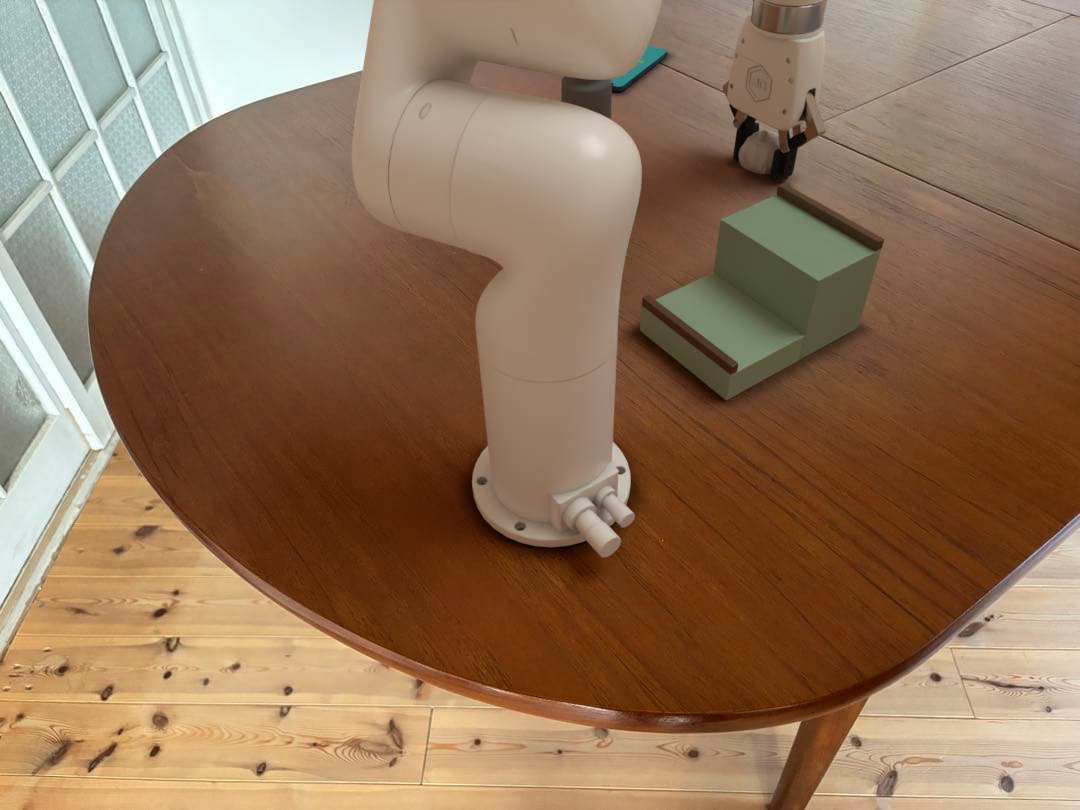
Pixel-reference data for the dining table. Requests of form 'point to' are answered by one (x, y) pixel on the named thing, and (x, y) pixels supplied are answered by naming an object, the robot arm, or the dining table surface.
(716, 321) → the shelf
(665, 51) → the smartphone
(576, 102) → the bottle
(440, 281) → the dining table surface
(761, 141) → the garlic
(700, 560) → the dining table surface
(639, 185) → the robot arm
